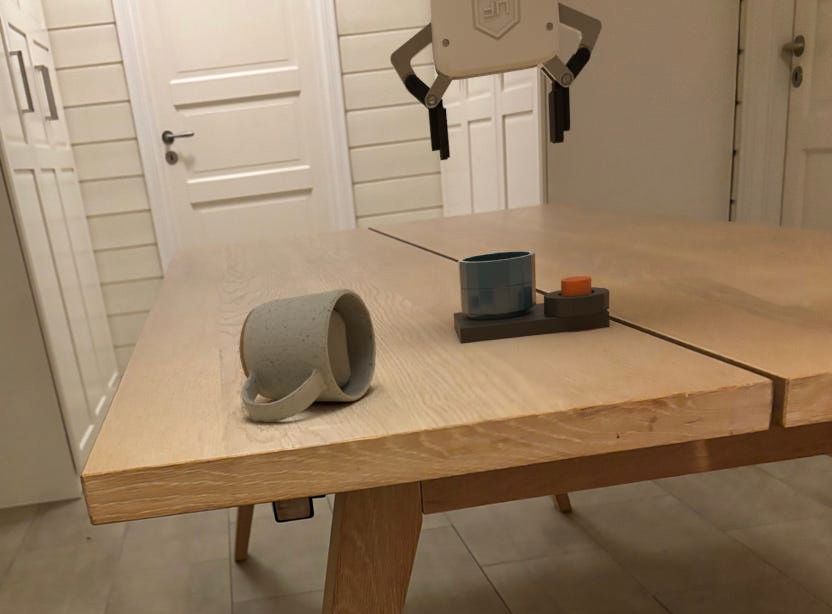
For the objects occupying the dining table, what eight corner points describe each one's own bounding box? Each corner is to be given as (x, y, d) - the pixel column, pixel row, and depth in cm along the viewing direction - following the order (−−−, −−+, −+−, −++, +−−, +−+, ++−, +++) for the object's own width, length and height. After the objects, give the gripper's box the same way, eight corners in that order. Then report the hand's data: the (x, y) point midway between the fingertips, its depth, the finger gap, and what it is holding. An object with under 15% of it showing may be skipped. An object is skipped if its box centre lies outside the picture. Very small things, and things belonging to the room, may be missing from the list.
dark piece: (592, 312, 92) (592, 279, 91) (614, 329, 84) (614, 293, 82) (454, 328, 93) (452, 295, 92) (461, 346, 85) (459, 310, 83)
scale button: (588, 293, 86) (588, 275, 85) (593, 297, 84) (593, 278, 83) (559, 296, 86) (558, 278, 86) (563, 300, 84) (563, 281, 83)
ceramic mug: (290, 386, 77) (275, 286, 74) (382, 386, 73) (371, 280, 70) (218, 425, 69) (197, 314, 65) (317, 426, 65) (300, 309, 62)
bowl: (530, 304, 92) (529, 248, 90) (540, 315, 86) (539, 255, 84) (459, 312, 93) (456, 257, 90) (464, 323, 86) (461, 264, 84)
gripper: (376, -84, 73) (401, 166, 80) (608, -124, 71) (611, 135, 79) (377, -63, 79) (400, 166, 87) (589, -99, 78) (594, 137, 85)
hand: (500, 151), depth 83 cm, fingers open, 9 cm apart
